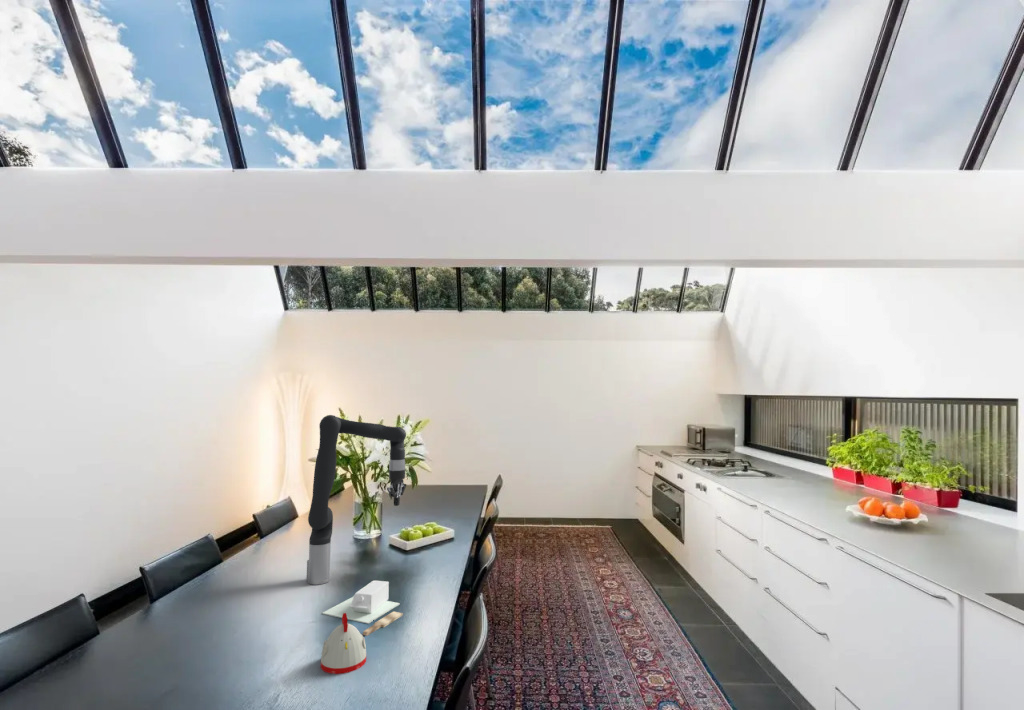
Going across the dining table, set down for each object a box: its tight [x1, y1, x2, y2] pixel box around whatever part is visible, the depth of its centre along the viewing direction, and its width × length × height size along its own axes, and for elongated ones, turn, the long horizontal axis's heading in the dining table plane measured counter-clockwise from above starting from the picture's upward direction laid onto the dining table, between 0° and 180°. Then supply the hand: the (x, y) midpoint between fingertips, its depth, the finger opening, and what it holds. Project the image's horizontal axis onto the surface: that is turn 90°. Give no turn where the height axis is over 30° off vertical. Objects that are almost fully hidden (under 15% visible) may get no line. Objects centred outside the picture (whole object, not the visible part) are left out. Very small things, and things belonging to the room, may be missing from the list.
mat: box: [321, 595, 401, 625], centre depth 211 cm, size 22×20×1 cm
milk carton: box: [349, 580, 390, 614], centre depth 212 cm, size 7×7×19 cm
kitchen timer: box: [320, 613, 367, 675], centre depth 170 cm, size 14×14×15 cm
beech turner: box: [362, 611, 404, 636], centre depth 198 cm, size 20×4×1 cm, turn 157°
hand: (396, 505), depth 254 cm, fingers closed
